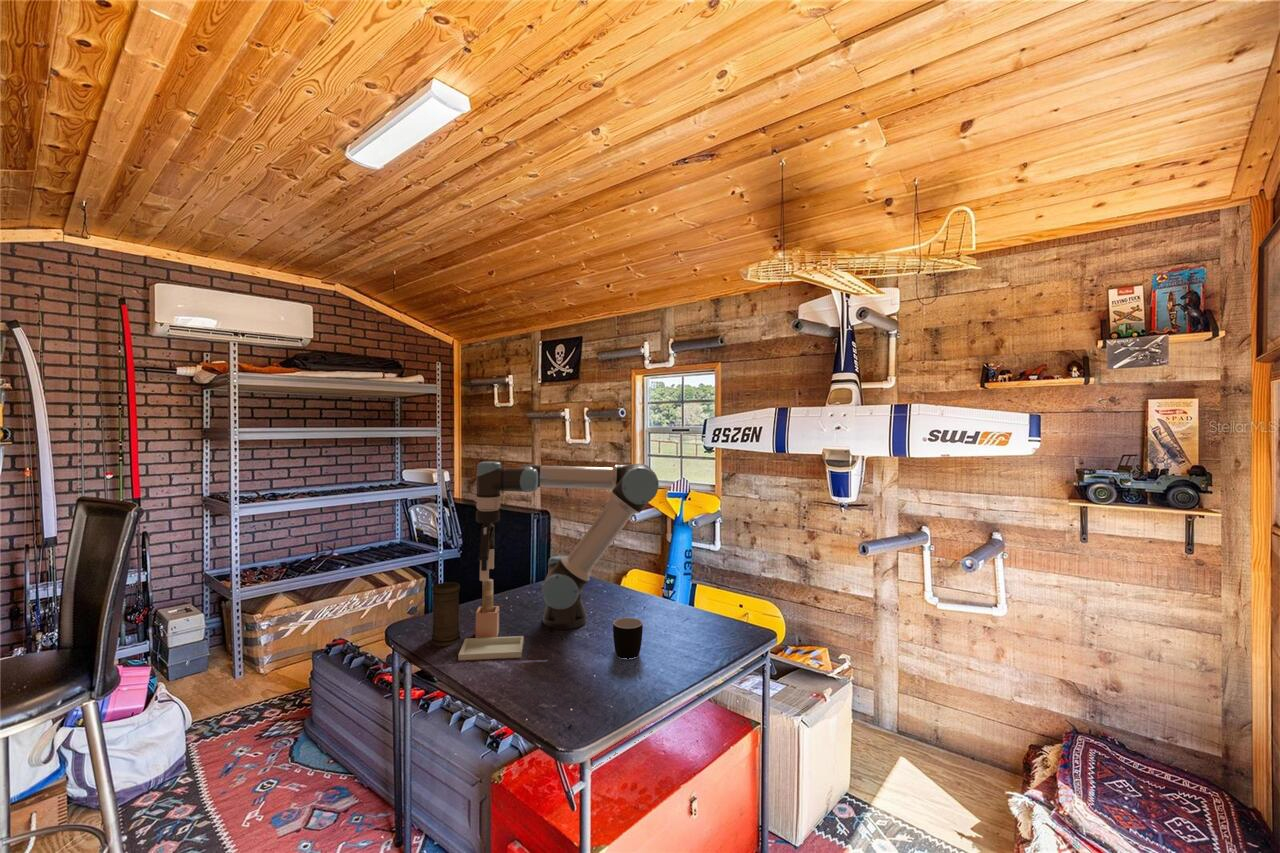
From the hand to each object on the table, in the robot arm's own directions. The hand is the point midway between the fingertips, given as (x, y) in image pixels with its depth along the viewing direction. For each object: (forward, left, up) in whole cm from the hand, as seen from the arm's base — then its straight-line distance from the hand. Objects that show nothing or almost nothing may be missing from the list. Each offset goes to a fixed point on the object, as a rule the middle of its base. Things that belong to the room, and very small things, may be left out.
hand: (487, 574), depth 181 cm
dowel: (0, 0, -20) cm, 20 cm away
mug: (-43, +18, -21) cm, 51 cm away
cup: (0, 0, -21) cm, 21 cm away
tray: (-3, +12, -21) cm, 24 cm away
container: (+12, +2, -21) cm, 24 cm away
